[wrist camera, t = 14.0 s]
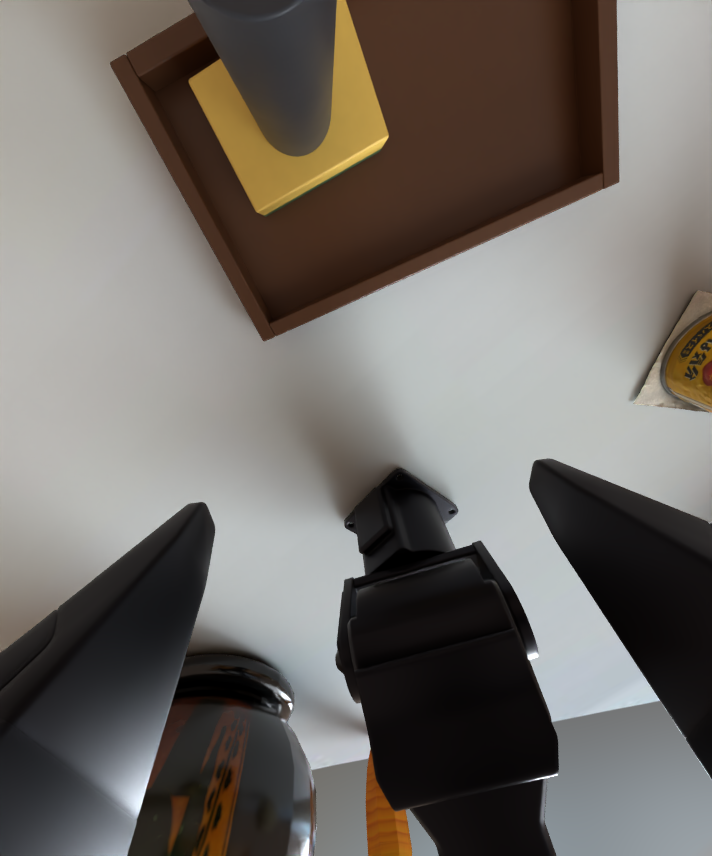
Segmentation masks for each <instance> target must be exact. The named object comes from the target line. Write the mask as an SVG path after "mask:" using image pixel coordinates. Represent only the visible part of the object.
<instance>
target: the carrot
mask: <svg viewBox="0 0 712 856" xmlns="http://www.w3.org/2000/svg"><path fill="white" fill-rule="evenodd" d="M366 821H367V840H368V856H412V847H411V840H410V834H409V828H408V822H407V816H406V811H405V810H401V811H397V812H396V811H394V810H393V809H392V807H391V806H390V804H389V802H388V801H387V799H386V797H385V795H384V794H383V792H382V790H381V788H380V787H379V785H378V783H377V781H376V777H375V772H374V766H373V759H372V753H371V750H370V755H369V761H368V767H367V783H366Z"/></svg>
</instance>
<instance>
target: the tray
mask: <svg viewBox="0 0 712 856" xmlns="http://www.w3.org/2000/svg"><path fill="white" fill-rule="evenodd" d="M346 3H347V6H348V9H349V12H350V15H351V18H352V21H353V25H354V28H355V31H356V34H357V37H358V40H359V43H360V46H361V49H362V53H363V56H364V59H365V62H366V65H367V68H368V71H369V74H370V77H371V81H372V84H373V87H374V90H375V93H376V96H377V99H378V102H379V105H380V109H381V112H382V115H383V118H384V121H385V124H386V127H387V130H388V133H389V137H388V139H387V140H386V142H385V144H384V145H383V147H382V149H381V151H380V152H379V153H377V154H375V155H373V156H372V157H370V158H368V159H366V160H365V161H363V162H361V163H359V164H358V165H356V166H354V167H352V168H351V169H349V170H347V171H345V172H344V173H342V174H340V175H338V176H337V177H335V178H333V179H331V180H330V181H328V182H326V183H324V184H323V185H321V186H319V187H317V188H316V189H314V190H312V191H310V192H309V193H307V194H305V195H303V196H302V197H300V198H298V199H296V200H295V201H293V202H291V203H289V204H288V205H286V206H284V207H282V208H281V209H279V210H277V211H275V212H274V213H272V214H270V215H268V216H267V217H265V216H263V215H261V214H259V213H257V212H256V211H255V209H254V207H253V205H252V203H251V201H250V200H249V198H248V196H247V194H246V192H245V190H244V188H243V186H242V184H241V182H240V180H239V178H238V177H237V175H236V173H235V171H234V169H233V167H232V165H231V163H230V161H229V159H228V157H227V155H226V154H225V152H224V150H223V148H222V146H221V144H220V142H219V140H218V138H217V136H216V134H215V132H214V130H213V129H212V127H211V125H210V123H209V121H208V119H207V117H206V115H205V113H204V111H203V109H202V107H201V106H200V104H199V102H198V100H197V98H196V96H195V94H194V92H193V90H192V88H191V86H190V84H189V79H190V78H192V77H193V76H195V75H196V74H198V73H199V72H201V71H202V70H204V69H205V68H207V67H208V66H210V65H211V64H213V63H215V62H216V61H218V60H219V59H220V57H219V55H218V53H217V52H216V50H215V48H214V46H213V44H212V43H211V41H210V39H209V37H208V36H207V34H206V32H205V30H204V28H203V27H202V25H201V23H200V21H199V20H198V18H197V16H196V14H195V12H194V13H193V14H191V15H189V16H188V17H186V18H184V19H183V20H181V21H179V22H177V23H176V24H174V25H172V26H171V27H169V28H167V29H166V30H164V31H162V32H161V33H159V34H157V35H156V36H154V37H152V38H150V39H149V40H147V41H145V42H144V43H142V44H140V45H139V46H137V47H135V48H134V49H132V50H130V51H129V52H127V53H126V54H127V56H126V55H122V56H120V57H118V58H117V59H115V60H113V61H112V62H110V65H111V67H112V69H113V71H114V73H115V75H116V76H117V78H118V80H119V82H120V84H121V85H122V87H123V89H124V91H125V93H126V94H127V96H128V98H129V100H130V102H131V104H132V105H133V107H134V109H135V111H136V113H137V114H138V116H139V118H140V120H141V122H142V123H143V125H144V127H145V129H146V131H147V132H148V134H149V136H150V138H151V140H152V141H153V143H154V145H155V147H156V149H157V150H158V152H159V154H160V156H161V158H162V159H163V161H164V163H165V165H166V167H167V168H168V170H169V172H170V174H171V176H172V177H173V179H174V181H175V183H176V185H177V187H178V188H179V190H180V192H181V194H182V196H183V197H184V199H185V201H186V203H187V205H188V206H189V208H190V210H191V212H192V214H193V215H194V217H195V219H196V221H197V223H198V224H199V226H200V228H201V230H202V232H203V233H204V235H205V237H206V239H207V241H208V242H209V244H210V246H211V248H212V250H213V251H214V253H215V255H216V257H217V259H218V260H219V262H220V264H221V266H222V268H223V270H224V271H225V273H226V275H227V277H228V279H229V280H230V282H231V284H232V286H233V288H234V289H235V291H236V293H237V295H238V297H239V298H240V300H241V302H242V304H243V306H244V307H245V309H246V311H247V313H248V315H249V316H250V318H251V320H252V322H253V324H254V325H255V327H256V329H257V331H258V333H259V334H260V336H261V338H262V340H263V341H267V340H269V339H272V338H274V337H275V336H278V335H280V334H283V333H285V332H287V331H289V330H292V329H294V328H296V327H298V326H300V325H303V324H305V323H307V322H309V321H312V320H314V319H316V318H318V317H320V316H323V315H325V314H327V313H329V312H332V311H334V310H336V309H338V308H340V307H343V306H345V305H347V304H349V303H352V302H354V301H356V300H358V299H360V298H363V297H365V296H367V295H369V294H371V293H374V292H376V291H378V290H380V289H383V288H385V287H387V286H389V285H391V284H394V283H396V282H398V281H400V280H403V279H405V278H407V277H409V276H411V275H414V274H416V273H418V272H420V271H423V270H425V269H427V268H429V267H431V266H434V265H436V264H438V263H440V262H443V261H445V260H447V259H449V258H451V257H454V256H456V255H458V254H460V253H463V252H465V251H467V250H469V249H471V248H474V247H476V246H478V245H480V244H483V243H485V242H487V241H489V240H491V239H494V238H496V237H498V236H500V235H502V234H505V233H507V232H509V231H511V230H514V229H516V228H518V227H520V226H522V225H525V224H527V223H529V222H531V221H534V220H536V219H538V218H540V217H542V216H545V215H547V214H549V213H551V212H554V211H556V210H558V209H560V208H562V207H565V206H567V205H569V204H571V203H574V202H576V201H578V200H580V199H582V198H585V197H587V196H589V195H591V194H594V193H596V192H598V191H600V190H602V189H605V188H607V187H609V186H612V185H614V184H616V183H618V182H619V132H618V66H617V0H346Z"/></svg>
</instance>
